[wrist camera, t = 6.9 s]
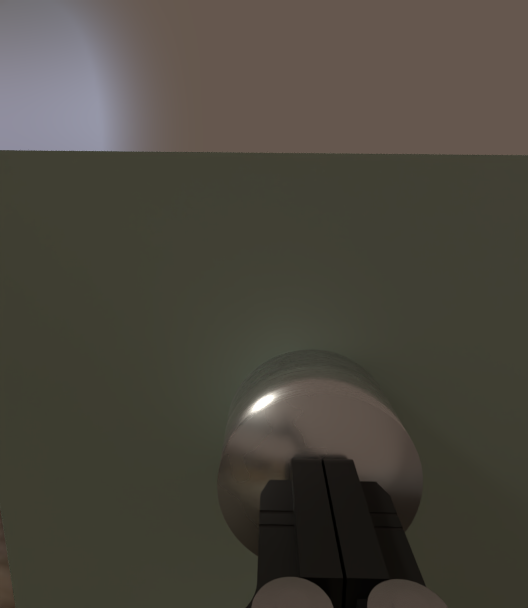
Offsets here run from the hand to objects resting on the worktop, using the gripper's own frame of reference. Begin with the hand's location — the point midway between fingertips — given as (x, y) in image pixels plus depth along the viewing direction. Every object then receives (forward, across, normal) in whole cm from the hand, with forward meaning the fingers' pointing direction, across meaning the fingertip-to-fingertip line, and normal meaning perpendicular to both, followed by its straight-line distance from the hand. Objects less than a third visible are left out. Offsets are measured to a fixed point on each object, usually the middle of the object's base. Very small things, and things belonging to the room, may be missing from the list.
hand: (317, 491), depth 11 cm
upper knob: (+4, 0, +2) cm, 4 cm away
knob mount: (+7, 0, +20) cm, 21 cm away
